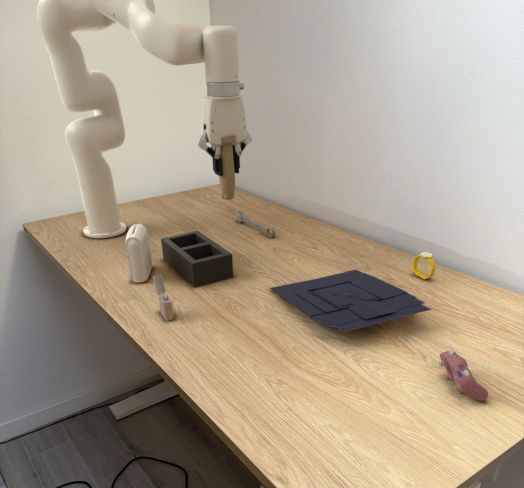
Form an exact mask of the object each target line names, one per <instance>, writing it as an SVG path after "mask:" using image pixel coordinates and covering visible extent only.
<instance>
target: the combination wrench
mask: <svg viewBox="0 0 524 488" xmlns="http://www.w3.org/2000/svg"><path fill="white" fill-rule="evenodd" d="M236 212H237V213H238V214H239V215H235V218H236V220H237V222H238V223H242V222H245V223H246V224H248V225H250V226H252V227H254V228H256V229H258V230H259V231H261V232H263V233H265V234H266V235H267V236H268V237H269V238H274V237H275V235H276V230H275V228H273V227H272V226H270V227H267V226H265V225H263V224H261V223H259V222H257V221H255V220H253V219H251V218H249V217H247V216H245V214H244V212H243V211H242V210H241V209H236ZM270 231H271V232H270ZM271 233H272V234H271Z"/></svg>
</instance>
